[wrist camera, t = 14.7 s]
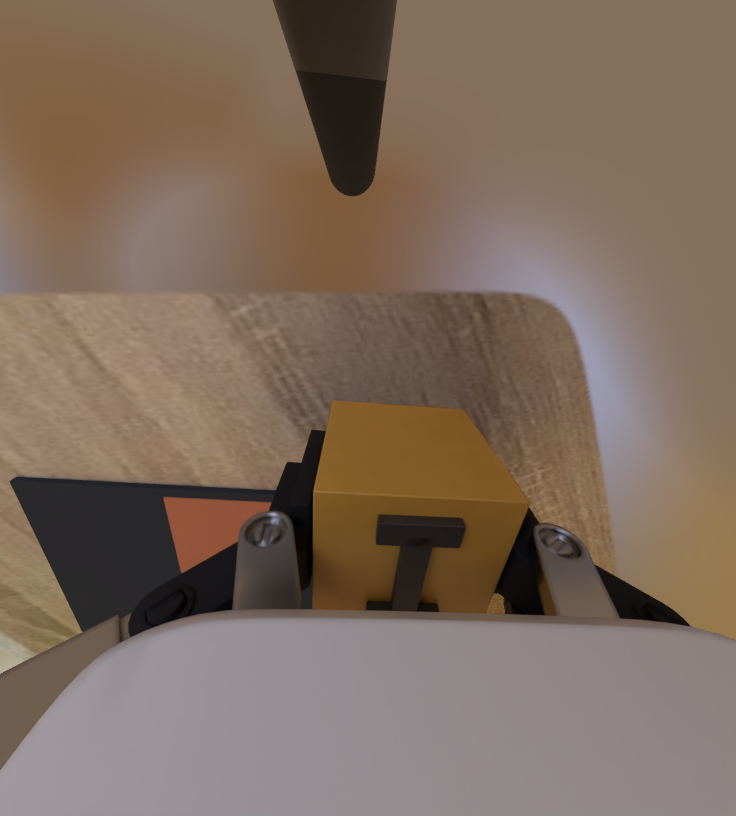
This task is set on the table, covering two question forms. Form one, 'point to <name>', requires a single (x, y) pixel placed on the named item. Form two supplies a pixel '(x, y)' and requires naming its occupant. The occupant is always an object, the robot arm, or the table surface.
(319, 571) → the letter i
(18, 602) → the table surface
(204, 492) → the word mat
